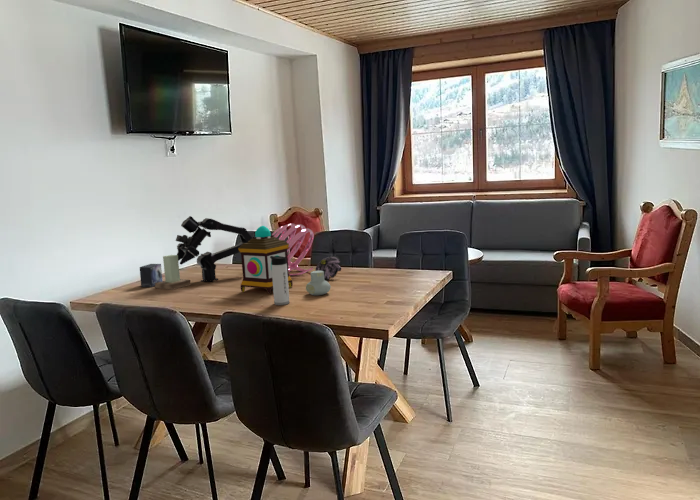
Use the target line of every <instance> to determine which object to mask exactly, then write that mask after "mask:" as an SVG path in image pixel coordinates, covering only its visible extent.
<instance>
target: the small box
mask: <svg viewBox="0 0 700 500" xmlns="http://www.w3.org/2000/svg"><path fill="white" fill-rule="evenodd" d="M139 276H140V288H153V287H155V283H158V282H162V281H163V273H162V263H149V264H145V265H142V266H140V267H139Z"/></svg>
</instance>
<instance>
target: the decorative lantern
mask: <svg viewBox="0 0 700 500" xmlns="http://www.w3.org/2000/svg"><path fill="white" fill-rule="evenodd" d="M254 235H255V236H252V239H250V241H248V242H247V243H243V244H242V245H241V246H240V247H239V248H238V249H239V251H240V252H239V253H240V257H241V269H242V271H241V272H242V280H241V283H240V292H241V293H244V292H245V289H246V288H256V289H264V290H266V292H267V295H269V296H270V295H271V293H272V289H273V279H272V265H271V263H272V262H271V258H270V256H282V257H286V262H287V274H288V288H292V287H293V284H294V283H293V279H292V278H291V277H292V276H289V274H290V272H289V270H288V267H289V266H288V253H287V249H288V246H289V244H288V243H287V242H286V240H279V238H278V237H277V238H276V237H274V236H275V234H274V235H272V233H271V231H270V228H268V227H267V226H265V225H261V226H259V227H258V228H256V230H255V234H254Z"/></svg>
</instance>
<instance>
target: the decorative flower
mask: <svg viewBox="0 0 700 500" xmlns="http://www.w3.org/2000/svg"><path fill="white" fill-rule="evenodd" d="M339 263H342V261H341V258H339V257H338V256H335V255H334V256H328V257H324V258H323V259H321V260H320V261H319V262H318V263H317V265H316V267H315V270H314V271H323V272H324V280H325V281H327V282H329V280H330V277H331V278H333V279H334V278H335V277H336V276H337V275H338V272H341V271H342V267H341V266H340V265H339Z"/></svg>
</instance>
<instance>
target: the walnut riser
mask: <svg viewBox="0 0 700 500" xmlns="http://www.w3.org/2000/svg"><path fill="white" fill-rule="evenodd" d="M191 285H192V284H191V279H184V278H180V281H177V282H173V283H170V282H166V281H165V280H162V282H158V283H155V286H154V287H155V289H161V290H162V289H163V290H170V291H173V290H176V289H177V290H178V289H180V288H183V287H188V286H191Z"/></svg>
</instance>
